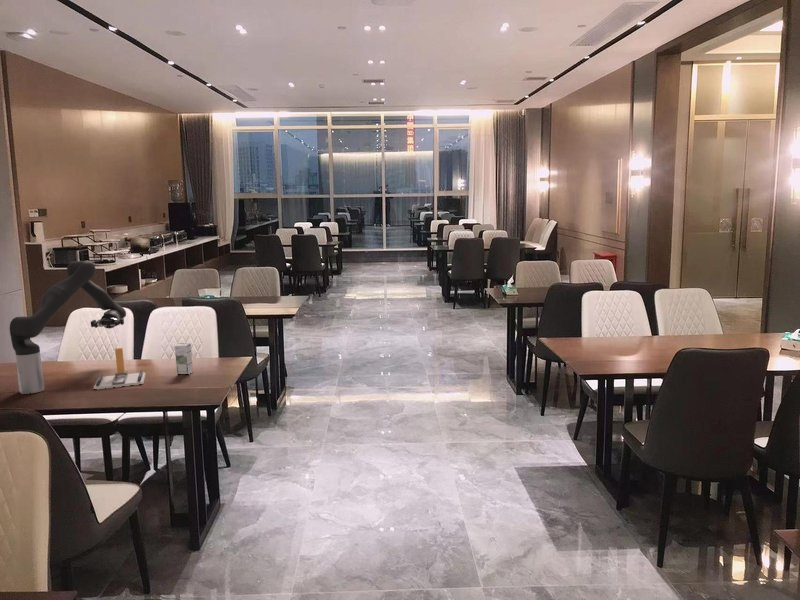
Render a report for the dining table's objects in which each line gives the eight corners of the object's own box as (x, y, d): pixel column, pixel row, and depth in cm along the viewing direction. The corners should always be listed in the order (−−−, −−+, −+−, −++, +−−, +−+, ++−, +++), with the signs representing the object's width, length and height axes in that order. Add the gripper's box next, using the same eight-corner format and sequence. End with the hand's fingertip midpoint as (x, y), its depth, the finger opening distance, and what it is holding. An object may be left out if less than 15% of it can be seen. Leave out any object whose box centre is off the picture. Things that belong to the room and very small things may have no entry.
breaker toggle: (114, 375, 292) (112, 349, 290) (115, 373, 295) (113, 348, 293) (127, 373, 293) (124, 348, 292) (127, 372, 296) (125, 347, 295)
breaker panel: (93, 389, 278) (93, 384, 277) (99, 379, 295) (98, 374, 294) (142, 384, 284) (142, 378, 284) (145, 374, 301) (144, 369, 300)
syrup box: (193, 371, 303) (191, 342, 301) (188, 375, 297) (185, 345, 295) (182, 372, 304) (179, 342, 302) (176, 375, 298) (174, 345, 296)
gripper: (93, 313, 310) (88, 318, 295) (125, 311, 314) (121, 315, 299) (95, 328, 311) (89, 334, 296) (126, 325, 315) (122, 331, 300)
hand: (105, 324), depth 297 cm, fingers open, 8 cm apart
